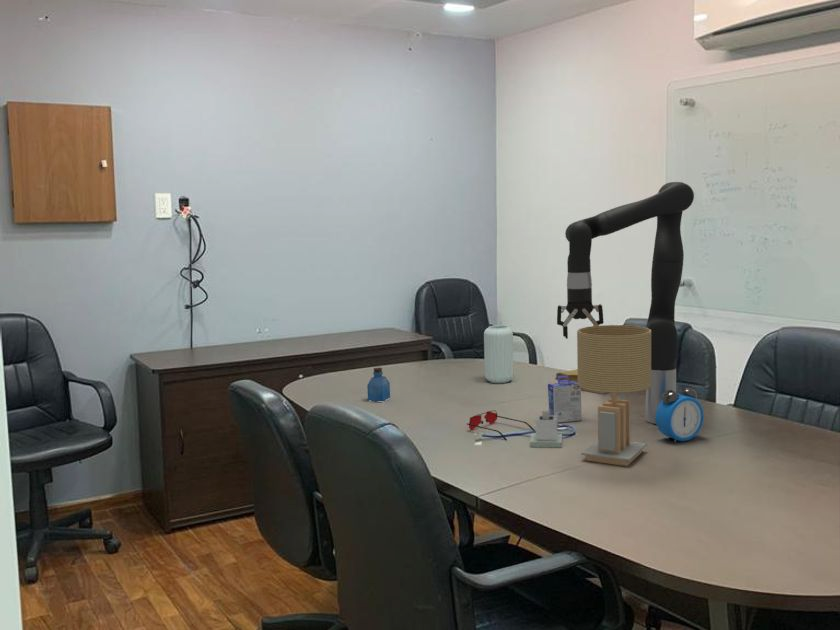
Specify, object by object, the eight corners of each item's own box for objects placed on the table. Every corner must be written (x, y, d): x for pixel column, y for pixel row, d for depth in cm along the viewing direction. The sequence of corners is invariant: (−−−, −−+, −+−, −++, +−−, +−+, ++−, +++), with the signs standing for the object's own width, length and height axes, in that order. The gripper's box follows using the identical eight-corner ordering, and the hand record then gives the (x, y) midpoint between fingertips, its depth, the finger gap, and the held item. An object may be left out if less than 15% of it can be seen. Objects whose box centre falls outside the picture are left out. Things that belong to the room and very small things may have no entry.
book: (633, 389, 301) (633, 373, 300) (603, 396, 291) (603, 380, 290) (583, 379, 321) (583, 364, 320) (554, 385, 311) (553, 370, 310)
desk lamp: (638, 471, 207) (639, 337, 203) (567, 461, 218) (566, 333, 213) (659, 451, 224) (660, 327, 219) (592, 442, 234) (591, 323, 229)
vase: (494, 377, 329) (493, 324, 326) (518, 380, 322) (517, 325, 319) (479, 382, 320) (478, 327, 317) (504, 385, 313) (503, 329, 310)
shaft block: (561, 438, 239) (561, 407, 238) (561, 447, 230) (561, 415, 229) (531, 438, 241) (531, 407, 239) (530, 447, 232) (529, 415, 231)
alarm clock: (668, 445, 229) (668, 394, 227) (654, 439, 235) (654, 389, 233) (704, 438, 234) (704, 388, 232) (689, 433, 240) (690, 384, 238)
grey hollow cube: (557, 435, 238) (556, 415, 237) (557, 440, 232) (556, 420, 231) (536, 434, 239) (536, 415, 238) (536, 440, 233) (535, 420, 232)
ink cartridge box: (575, 416, 264) (575, 373, 262) (582, 420, 258) (582, 376, 256) (547, 419, 261) (547, 375, 260) (554, 423, 256) (553, 379, 254)
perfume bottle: (368, 401, 295) (366, 369, 293) (375, 397, 300) (373, 366, 299) (383, 402, 292) (381, 370, 291) (390, 398, 298) (388, 367, 297)
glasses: (495, 422, 261) (495, 408, 260) (535, 431, 249) (535, 416, 248) (466, 432, 251) (465, 416, 251) (506, 441, 239) (506, 425, 239)
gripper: (602, 284, 251) (602, 335, 253) (556, 286, 253) (557, 336, 255) (603, 287, 243) (604, 339, 245) (556, 288, 246) (557, 340, 248)
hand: (580, 338), depth 250 cm, fingers open, 8 cm apart
